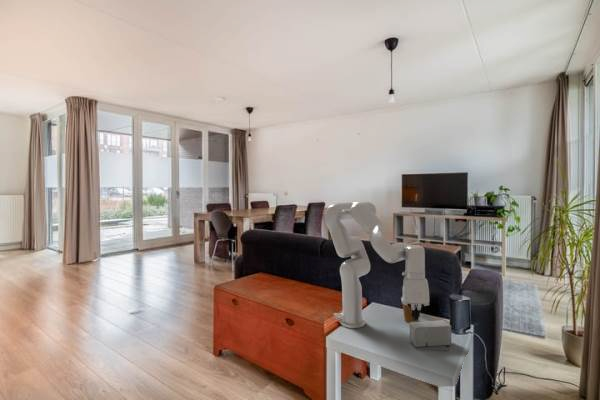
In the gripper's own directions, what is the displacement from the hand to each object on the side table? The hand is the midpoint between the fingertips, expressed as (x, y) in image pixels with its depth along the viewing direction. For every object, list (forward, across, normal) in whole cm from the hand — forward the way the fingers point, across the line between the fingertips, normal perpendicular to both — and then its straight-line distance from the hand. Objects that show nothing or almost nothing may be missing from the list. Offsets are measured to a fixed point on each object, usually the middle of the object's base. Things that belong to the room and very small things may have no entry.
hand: (415, 318), depth 127 cm
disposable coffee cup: (+12, +3, +24) cm, 27 cm away
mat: (+12, +6, +3) cm, 13 cm away
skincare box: (+7, -2, +1) cm, 8 cm away
